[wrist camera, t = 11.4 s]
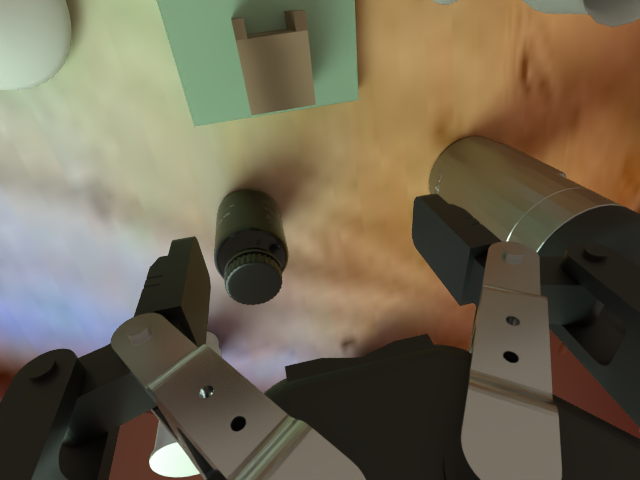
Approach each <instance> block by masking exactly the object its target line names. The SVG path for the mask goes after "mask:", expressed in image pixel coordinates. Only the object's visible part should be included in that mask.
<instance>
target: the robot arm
mask: <svg viewBox="0 0 640 480" xmlns="http://www.w3.org/2000/svg"><path fill="white" fill-rule="evenodd" d="M429 189H430V193H431V194H430V195H424V196H419V197H416V198H415V200H414V207H413V223H412V239H413V243H414V245H415V247H416V249H417V250H418V252H419V253H420V254H421V255H422V257H423V258H424V259H425V261H426V262H427V263H428V265H429V266H430V267H431V268H432V270H433V271H434V272H435V274H436V275H437V276H438V278H439V279H440V280H441V281H442V283H443V284H444V285H445V287H446V288H447V289H448V291H449V292H450V293H451V295H452V296H453V297H454V298H455V300H456V301H457V302H458V304H459V305H460V306H461V305H466V304H470V303H474V304H475V305H476V310H475V315H474V321H473V327H472V333H471V338H470V344H469V350H468V351H466V350H463V349H460V348H456V347H452V346H447V345H434V344H433V342H432V341H431V339H430V337H429V336H428V334H424V335H420V336H416V337H411V338H407V339H403V340H398V341H394V342H392V343H390V344H388V345H386V346H384V347H382V348H380V349H378V350H376V351H374V352H372V353H370V354H368V355H366V356H363V357H360V358H320V359H315V360H311V361H307V362H302V363H298V364H294V365H289V366H285V370H286V377H287V378H286V379H284V380H282V381H280V382H278V383H277V384H275V385H274V386H272V387H271V388H270V389H268V390H267V391H266V392H265V393H264V394H263V393H262V392H261V391H260V390H259V389H258V388H256V387H255V386H254V385H253V384H252V383H251V382H249V381H248V380H247V379H246V378H245V377H244V376H242V375H241V374H240V373H239V372H238V371H237V370H235V369H234V368H233V367H232V366H231V365H230V364H228V363H227V362H226V361H225V360H224V359H223V358H221V357H220V356H219V355H218V354H217V353H216V352H214V351H213V350H212V349H211V348H210V347H208V346H207V345H206V337H207V325H208V313H209V301H210V289H211V285H210V277H209V273H208V270H207V267H206V264H205V261H204V258H203V255H202V252H201V249H200V246H199V243H198V241H197V239H196V237H195V236H194V237H188V238H183V239H177V240H173V241H172V243H171V246H170V250H169V254H168V256H163V257H159V258H158V259H157V260H156V261H155V263H154V264H153V265H152V266H151V267H150V269H149V272H148V275H147V280H146V281H145V284H144V289H143V290H142V293H141V297H140V300H139V303H138V306H137V309H136V312H135V315H134V317H133V318H131V319H129V320H127V321H126V322H124V323H123V324H122V325H121V326H119V328H118V329H117V330H116V331H115V332H114V334H113V336H112V338H111V343H110V344H109V345H107V346H105V347H103V348H100V349H98V350H96V351H93V352H91V353H89V354H86V355H84V356H82V357H80V358H78V357H77V356H76V355H75V353H74V352H73V351H71V350H69V349H57V350H52V351H49V352H46V353H44V354H42V355H40V356H38V357H36V358H35V359H33V360H32V361H30V362H29V363H27V364H26V365H25V366H24V367H23V368H22V369H21V370H20V371H19V372H18V373H17V374H16V375H15V377H14V379H13V380H12V382H11V384H10V386H9V388H8V390H7V391H6V393H5V395H4V397H3V399H2V401H1V403H0V480H108V479H109V475H110V470H111V465H112V461H113V456H114V451H115V446H116V442H117V437H118V432H119V428H120V425H122V424H124V423H126V422H127V421H129V420H131V419H133V418H135V417H137V416H139V415H141V414H143V413H145V412H147V411H149V410H152V412H153V413H154V414H155V415H156V417H157V418H158V419H159V420H160V422H161V423H162V424H163V425H164V427H165V428H166V429H167V430H168V432H169V433H170V434H171V435H172V437H173V438H174V439H175V440H176V442H177V443H178V444H179V445H180V447H181V448H182V449H183V450H184V452H185V453H186V454H187V456H188V457H189V459H190V460H191V462H192V463H193V464H194V466H195V467H196V469H197V470H198V471H199V473H200V474H201V475H202V477H203V478H204V479H205V480H640V439H639V438H637V437H635V436H633V435H631V434H629V433H627V432H625V431H623V430H621V429H619V428H617V427H615V426H613V425H612V424H609V423H607V422H605V421H604V420H602V419H600V418H598V417H596V416H594V415H592V414H590V413H588V412H586V411H584V410H582V409H580V408H578V407H577V406H574V405H573V404H571V403H569V402H567V401H565V400H563V399H561V398H559V397H557V396H555V395H553V394H552V380H551V360H550V340H549V328H550V329H551V330H552V331H553V332H554V334H555V335H556V336H557V337H558V338H559V339H560V340H561V341H562V342H563V343H564V345H565V346H566V347H567V348H568V349H569V350H570V351H571V352H572V353H573V354H574V356H575V357H576V358H577V359H578V360H579V361H580V362H581V363H582V364H583V366H584V367H585V368H586V369H587V370H588V371H589V372H590V373H591V374H592V376H593V377H594V378H595V379H596V380H597V381H598V382H599V383H600V384H601V385H602V386H603V388H604V389H605V390H606V391H607V392H608V393H609V394H610V395H611V397H612V398H613V399H614V400H615V401H616V402H617V403H618V404H619V405H620V406H621V408H622V409H623V410H624V411H625V412H626V413H627V414H628V415H629V416H630V418H631V419H632V420H633V421H634V422H635V423H636V424H637V425H638V426H639V427H640V214H638V213H636V212H634V211H632V210H630V209H628V208H626V207H623V206H621V205H619V204H617V203H615V202H613V201H611V200H609V199H607V198H605V197H603V196H601V195H599V194H597V193H595V192H593V191H591V190H589V189H587V188H585V187H583V186H581V185H579V184H577V183H575V182H573V181H571V180H569V179H567V178H566V175H565V173H563V172H562V171H560V170H558V169H555V168H553V167H551V166H549V165H547V164H545V163H543V162H541V161H539V160H537V159H535V158H533V157H531V156H529V155H527V154H525V153H523V152H521V151H519V150H517V149H515V148H512V147H510V146H508V145H506V144H504V143H501V144H498V143H496V142H494V141H492V140H490V139H488V138H485V137H481V136H472V137H467V138H464V139H461V140H459V141H457V142H456V143H454V144H452V145H451V146H450V147H448V148H447V149H446V150H445V151H444V152H443V153H442V154H441V155H440V157H439V158H438V159H437V161H436V163H435V164H434V166H433V169H432V171H431V174H430V180H429Z"/></svg>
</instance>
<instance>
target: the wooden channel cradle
mask: <svg viewBox="0 0 640 480" xmlns="http://www.w3.org/2000/svg"><path fill="white" fill-rule="evenodd" d="M284 13H285V20H286V27H287V29H280V30H273V31H266V32H259V33H252V34H246V29H245V24H244V19H243V18H242V17H236V18H231V21H232V26H233V30H234V35H235V40H236V44H237V49H238V54H239V59H240V63H241V68H242V73H243V77H244V82H245V87H246V92H247V96H248V101H249V106H250V110H251V115H257V114H263V113H269V112H275V111H281V110H287V109H293V108H299V107H305V106H311V105H316V101H315V92H314V83H313V74H312V65H311V56H310V47H309V38H308V29H307V20H306V11H305V10H288V11H284Z"/></svg>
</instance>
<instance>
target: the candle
mask: <svg viewBox="0 0 640 480" xmlns="http://www.w3.org/2000/svg"><path fill="white" fill-rule="evenodd" d="M206 345H207V346H208V347H210V348H211V349H212V350H213V351H214V352H216V353H217V354H218V355H219V356H220V357H221V358H222V352H221V350H220V348H219V341H218V338H217V337H216V336H215V335H214V334H213V333H211V332H209V331H207V337H206ZM149 462H150V467H151V468H152V470H153V471H155V472H156V473H158V474H161V475H164V476H169V477H185V476H191V475H196V474H199V471H198V470H197V469H196V467H195V466H194V464H193V463H192V462H191V460H190V459H189V457H188V456H187V454H186V453H185V452H184V450H183V449H182V448H181V447H180V445H179V444H178V443H177V442H176V440H175V439H174V438H173V437H172V435H171V434H170V433H169V432H168V430H167V429H166V428H165V427H164V425H163V424H162V423H161V422H160V420H159V425H158V431H157V437H156V443H155V449H154V451H153V452H152V454H151V457H150V461H149Z"/></svg>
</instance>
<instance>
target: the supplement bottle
mask: <svg viewBox="0 0 640 480" xmlns="http://www.w3.org/2000/svg"><path fill="white" fill-rule="evenodd" d="M214 262H215V266H216V269H217V271H218V272H219V274H220V275H221V276H222V277H223V278H224V279H225V288H226V290H227V293H228V294H229V295H230V297H231V298H233V299H234V300H236V301H237V302H239V303H242V304H247V305H255V304H261V303H265V302H267V301H269V300H270V299H273V297H274V296H276V295H277V293H278V292H279V290H280V289H281V285H282V273H283V272H284V270H285V268H286V266H287V263H288V248H287V243H286V239H285V234H284V230H283V225H282V221H281V217H280V213H279V209H278V207H277V205H276V203H275V202H274V200H273V199H272V198H271V197H269V196H268V195H267V194H265V193H263V192H261V191H257V190H251V189H246V190H240V191H236V192H234V193H232V194H230V195H229V196H227V197H226V198H225V199H224V200H223V202H222V203H221V205H220V206H219V209H218V213H217V221H216V235H215V249H214Z"/></svg>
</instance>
